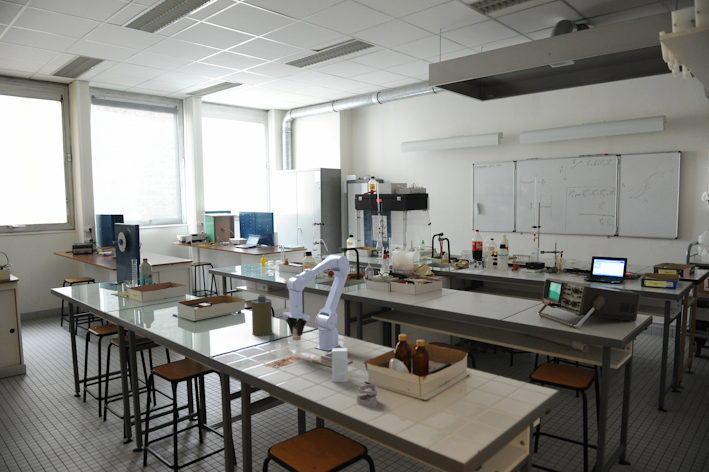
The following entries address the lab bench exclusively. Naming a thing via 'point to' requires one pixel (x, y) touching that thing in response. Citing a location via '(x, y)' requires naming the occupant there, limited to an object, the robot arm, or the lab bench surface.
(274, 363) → the bark
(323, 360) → the holder board
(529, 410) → the lab bench surface
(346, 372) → the skincare box
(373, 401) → the dental mold
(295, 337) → the wood peg
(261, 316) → the canister
